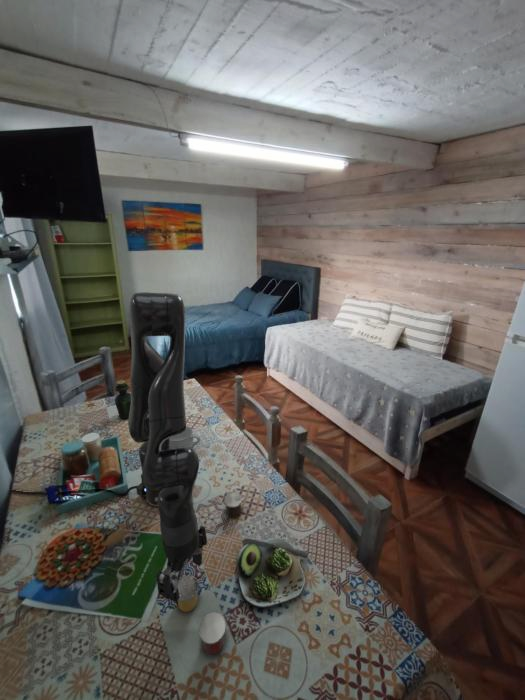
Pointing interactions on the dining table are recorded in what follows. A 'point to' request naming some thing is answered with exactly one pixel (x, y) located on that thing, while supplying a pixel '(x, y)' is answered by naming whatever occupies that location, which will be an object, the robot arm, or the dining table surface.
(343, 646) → the dining table surface
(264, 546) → the salad plate
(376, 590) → the dining table surface
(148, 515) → the dining table surface
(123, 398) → the potion bottle
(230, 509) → the base pod
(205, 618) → the burgundy pod
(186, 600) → the gold pod
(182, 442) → the teacup
